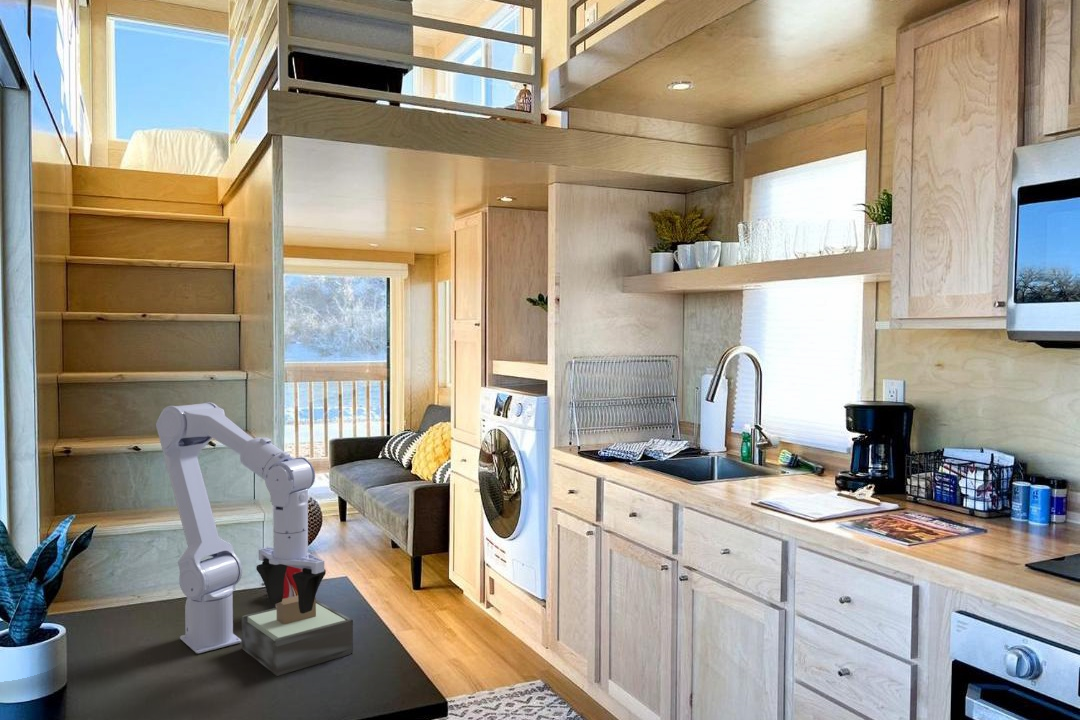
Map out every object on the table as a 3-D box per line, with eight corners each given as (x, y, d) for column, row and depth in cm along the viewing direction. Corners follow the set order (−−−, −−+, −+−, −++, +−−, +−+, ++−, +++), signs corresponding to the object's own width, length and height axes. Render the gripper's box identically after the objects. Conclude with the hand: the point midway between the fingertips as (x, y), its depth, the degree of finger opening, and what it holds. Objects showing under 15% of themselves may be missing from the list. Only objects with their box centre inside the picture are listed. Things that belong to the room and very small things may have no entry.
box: (241, 648, 143) (241, 615, 142) (314, 629, 152) (314, 598, 152) (276, 676, 131) (276, 640, 131) (352, 653, 141) (352, 620, 141)
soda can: (270, 611, 162) (269, 553, 161) (303, 604, 166) (303, 547, 166) (282, 621, 156) (281, 561, 156) (316, 613, 161) (316, 555, 160)
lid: (247, 621, 142) (247, 597, 142) (312, 606, 151) (311, 582, 150) (278, 643, 132) (278, 617, 132) (345, 625, 141) (345, 600, 141)
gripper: (243, 528, 137) (244, 605, 138) (301, 540, 129) (301, 622, 130) (276, 520, 143) (277, 594, 144) (333, 531, 135) (333, 610, 136)
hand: (290, 607), depth 137 cm, fingers open, 7 cm apart
